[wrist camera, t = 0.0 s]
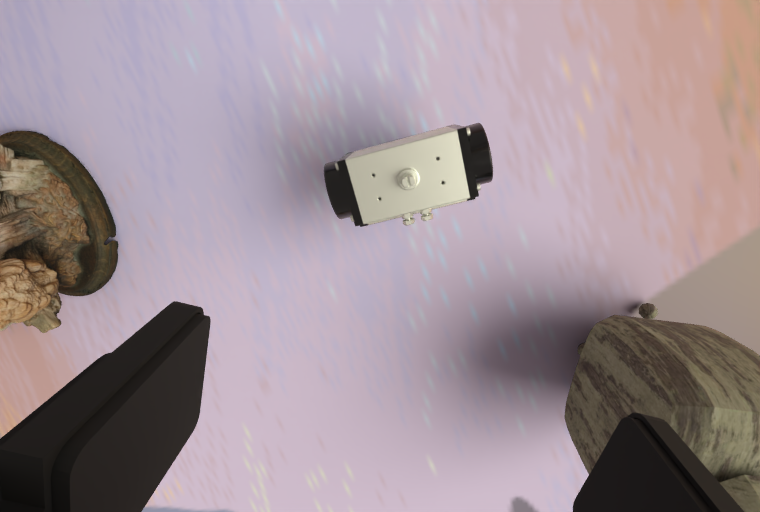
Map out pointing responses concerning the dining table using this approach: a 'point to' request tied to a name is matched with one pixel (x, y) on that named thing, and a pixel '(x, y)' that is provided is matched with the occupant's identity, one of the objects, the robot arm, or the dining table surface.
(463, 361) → the dining table surface
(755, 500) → the tabletop clock
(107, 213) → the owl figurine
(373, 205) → the pneumatic valve
